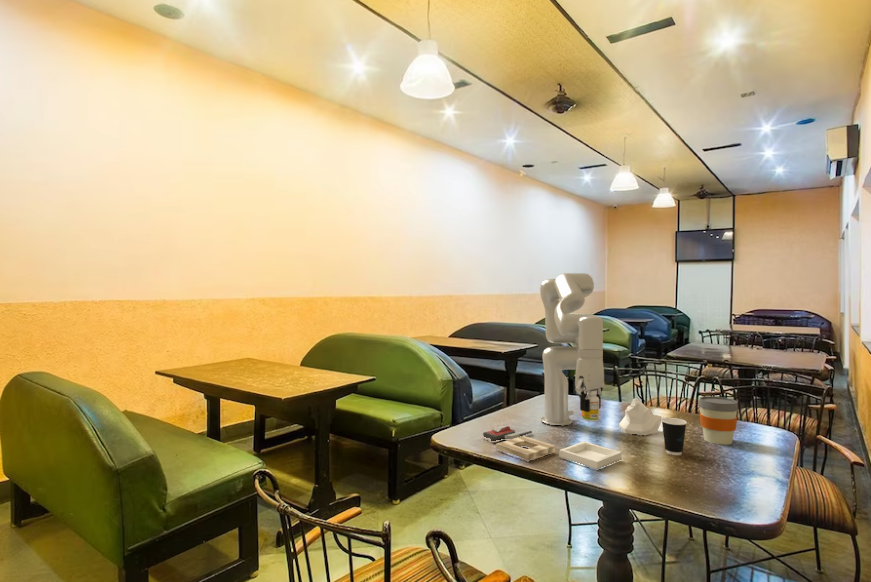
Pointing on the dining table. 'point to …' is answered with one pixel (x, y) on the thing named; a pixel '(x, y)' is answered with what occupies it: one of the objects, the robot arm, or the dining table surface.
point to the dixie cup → (674, 435)
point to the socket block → (515, 448)
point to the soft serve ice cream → (640, 419)
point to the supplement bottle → (592, 407)
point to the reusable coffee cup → (718, 419)
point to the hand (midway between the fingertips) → (590, 408)
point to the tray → (590, 455)
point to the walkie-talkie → (503, 433)
